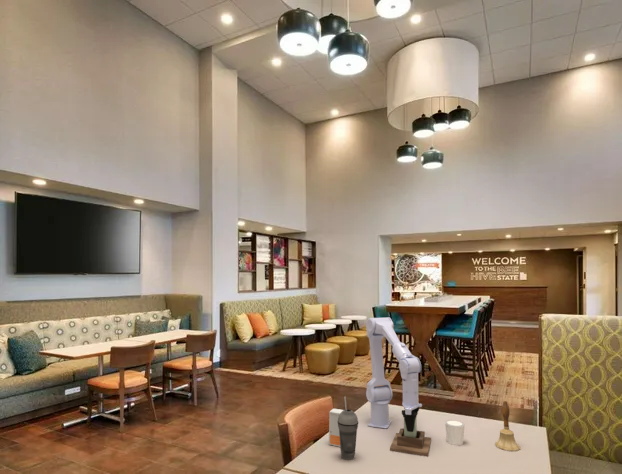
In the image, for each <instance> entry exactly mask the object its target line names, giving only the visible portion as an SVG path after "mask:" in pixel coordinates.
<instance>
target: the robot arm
mask: <svg viewBox="0 0 622 474" xmlns="http://www.w3.org/2000/svg"><path fill="white" fill-rule="evenodd" d="M394 326H395V325H394V322H393V320H392V318H391V317H389V316H387V317H369V318H368V319H367V320H366V323H365V328H366V329H365V330H366V336H367V338H368V341H369V350H370V351H369V352H370V365H371V366H370V367H371V375H372V376H371V377H372V378H371V379H370V380H369V381H368V382H367V383H366V391H365V395H366V399H367V401H368V402H369V403H370V421H369V423H368V424H367V426H368V427H373V428H380V429H388V428H389V427H390V424H391V422H392V420H391V419H390V418H389V417H390V416H389V415H390V412H389V411H390V410H389V408H390V407H389V404H390V402H391V400H392V399H393V390H392V386H391V382H390V381H389V380H387V378H385V377H386V376H385V367H384V354H383V343H382V341H383V339H384V338H385V339H386V340H387V341H388V343H389V344H390V345H391V346H392V347H391V351H392V353H393V355H394V357H395V358H396V360H397V362H398V363H399V364H398V369H399V372H400V376H401V379H402V380H401V381H402V403H401V404H402V407H403V409H402V410H401V416H402V417H403V421H404V420H405V423H406V428H407V431H409V432H413V430H414V424H415V419H416V420H417V416H418V414H419V410H420V408H422V406H423V404H422V403H419V373H421V371H422V364H421V363H422V362H421V361H420V358H419V357H417V356H415V355H413V354H412V353H411V351H410V350H409V348H408V347H407V345H406V344H405V342H401V341H400V339H399V337H398V335H397V334H396V332H395V329H394Z"/></svg>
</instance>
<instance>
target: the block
mask: <svg viewBox="0 0 622 474" xmlns="http://www.w3.org/2000/svg"><path fill="white" fill-rule="evenodd" d="M403 429H404V436H407V437H414V438H416V435H417V431H418V428H417V418H416V419H415V424H414V430H413V432H409V431H407V428H406V423H405V420H404V419H403Z"/></svg>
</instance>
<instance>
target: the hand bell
mask: <svg viewBox="0 0 622 474" xmlns="http://www.w3.org/2000/svg"><path fill="white" fill-rule="evenodd" d="M501 414H502V417H503V429H500V431H499V438H498V440H496V441H495V443H494V446H495V447H496V448H497V449H499V450H503V451H506V450H507V452H517V451H519V450H520V449H521V447H520V445H519V444H518V442H516V439H515V434H514V431H512V430H510V425H509V423H510V422H509V419H510V418H509V417H510V407H509V404H508V401H507V400H503V401H502V405H501Z"/></svg>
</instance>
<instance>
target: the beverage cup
mask: <svg viewBox="0 0 622 474" xmlns="http://www.w3.org/2000/svg"><path fill="white" fill-rule="evenodd" d="M343 398H344V409H343V410H344V411H342V412H341V413H340V414H339V417H338V421H337V423H338V428H339V436H340V447H339V449H340V455H341V459H343V460H346V461H352V460H354V459H355V454H356V449H357V448H356V447H357V435H358V434H357V432H358V427H359V420H358V416H357V414H356V413H355V412H354V411H353V410H351V409H348V407H347V398H346V395H345V396H343Z"/></svg>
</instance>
